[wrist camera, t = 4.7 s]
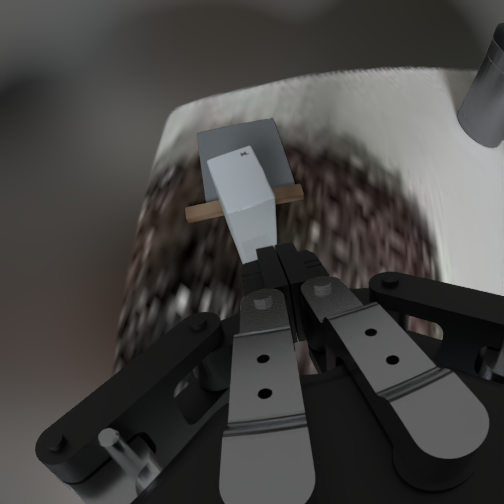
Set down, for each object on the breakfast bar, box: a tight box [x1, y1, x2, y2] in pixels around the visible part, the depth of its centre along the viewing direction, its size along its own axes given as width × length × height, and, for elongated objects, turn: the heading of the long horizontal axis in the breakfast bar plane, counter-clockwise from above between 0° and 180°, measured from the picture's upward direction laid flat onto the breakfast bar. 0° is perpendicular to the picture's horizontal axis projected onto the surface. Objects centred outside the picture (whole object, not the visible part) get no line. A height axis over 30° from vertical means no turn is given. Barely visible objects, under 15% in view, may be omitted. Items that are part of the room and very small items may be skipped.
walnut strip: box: [185, 184, 304, 223], centre depth 38 cm, size 14×2×1 cm, turn 101°
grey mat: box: [197, 118, 295, 203], centre depth 41 cm, size 11×12×1 cm
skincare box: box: [207, 146, 277, 264], centre depth 31 cm, size 6×4×12 cm
